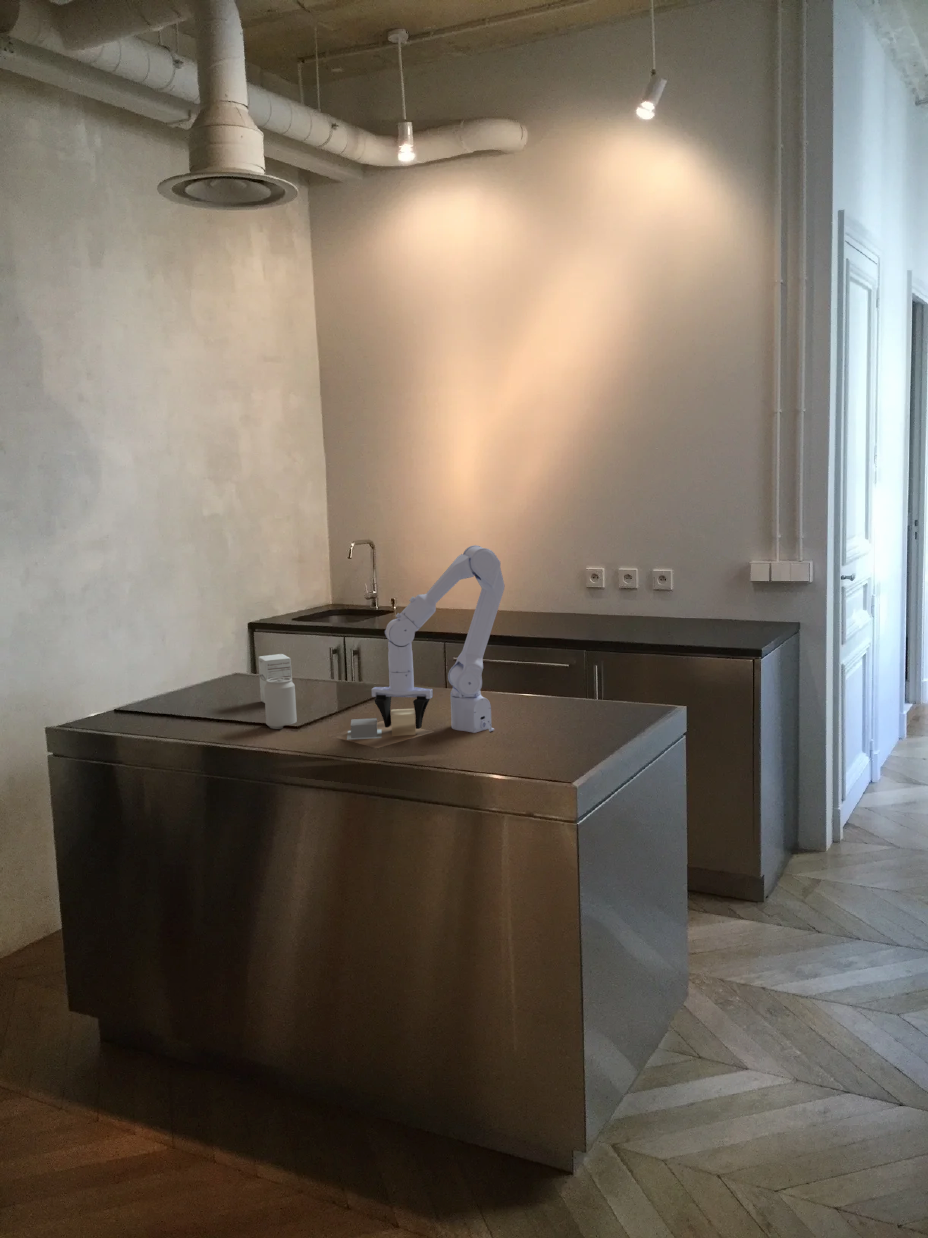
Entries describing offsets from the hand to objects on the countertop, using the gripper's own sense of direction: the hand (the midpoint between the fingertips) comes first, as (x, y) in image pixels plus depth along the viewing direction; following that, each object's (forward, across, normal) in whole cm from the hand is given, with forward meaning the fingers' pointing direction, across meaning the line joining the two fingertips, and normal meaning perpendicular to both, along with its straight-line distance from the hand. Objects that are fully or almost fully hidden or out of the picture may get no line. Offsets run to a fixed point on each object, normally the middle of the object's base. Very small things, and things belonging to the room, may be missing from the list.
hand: (403, 727), depth 259 cm
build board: (+2, +5, +2) cm, 6 cm away
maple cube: (+1, 0, 0) cm, 1 cm away
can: (+3, +34, -5) cm, 34 cm away
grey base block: (+1, +9, +3) cm, 9 cm away
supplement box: (+3, +47, -29) cm, 55 cm away
